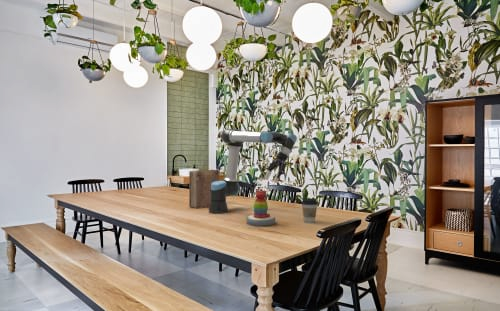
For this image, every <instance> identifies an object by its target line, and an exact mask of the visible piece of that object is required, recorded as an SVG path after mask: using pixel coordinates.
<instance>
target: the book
mask: <svg viewBox="0 0 500 311" xmlns="http://www.w3.org/2000/svg"><path fill="white" fill-rule="evenodd" d="M188 174H189V175H188V176H189V178H188V179H189V181H188V182H189V185H188V188H189V191H188V192H189V193H188V195H189V197H188V198H189V199H188V203H189V204H188V207H189V208H196V209H202V208H201V207H203V208H207V206H208V207H210V203H211V184H212V183H213V182H215V181H220V170H218V169H205V170H204V169H203V170H190V171H189V172H188Z"/></svg>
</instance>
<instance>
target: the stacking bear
mask: <svg viewBox="0 0 500 311" xmlns="http://www.w3.org/2000/svg"><path fill="white" fill-rule="evenodd" d="M266 193H267V191H266V190H261V189H260V190H257V189H256V190H255V200H254V202H253V203H254V204H253V215H254V218H268V217H270V216H271V214H270V213H268V210H269V209H268V206H269V205H268V201H267V200H266V197H267V194H266Z"/></svg>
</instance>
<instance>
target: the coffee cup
mask: <svg viewBox="0 0 500 311" xmlns="http://www.w3.org/2000/svg"><path fill="white" fill-rule="evenodd" d="M300 202H301V203H300V204H301V206H302V216H303V218H302V219H303V222H304V223H308V224H312V223H315V222H316V217H317V209H318V205H319V202H318V201H317V199H315V198H303V199H302V201H300Z"/></svg>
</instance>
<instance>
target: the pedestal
mask: <svg viewBox="0 0 500 311" xmlns="http://www.w3.org/2000/svg"><path fill="white" fill-rule="evenodd" d="M246 224H247V225H249V226H251V227H270V226H272V227H273V226H274V225H276V217H275V216H273V215H270V217H268V218H254V214H251V215H248V216H246Z"/></svg>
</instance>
